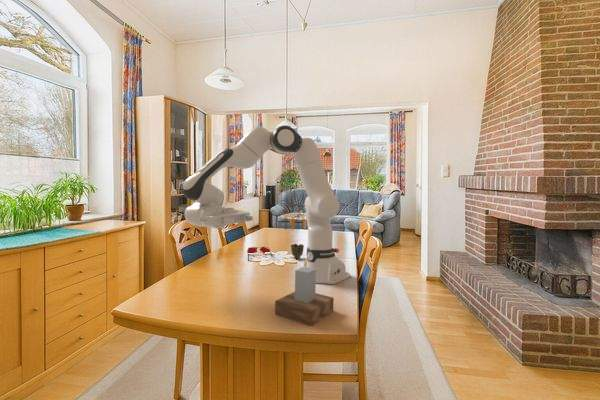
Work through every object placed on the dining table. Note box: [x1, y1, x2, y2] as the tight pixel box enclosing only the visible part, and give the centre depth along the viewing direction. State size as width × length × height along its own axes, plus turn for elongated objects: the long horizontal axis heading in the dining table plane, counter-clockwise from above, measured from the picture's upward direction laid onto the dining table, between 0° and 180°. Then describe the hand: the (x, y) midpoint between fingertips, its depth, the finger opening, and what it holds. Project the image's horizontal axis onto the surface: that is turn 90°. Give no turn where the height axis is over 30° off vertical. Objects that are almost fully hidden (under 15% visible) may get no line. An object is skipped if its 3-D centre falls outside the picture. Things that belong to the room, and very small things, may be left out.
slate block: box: [294, 266, 317, 303], centre depth 103 cm, size 5×5×10 cm
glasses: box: [246, 246, 274, 261], centre depth 179 cm, size 14×16×5 cm
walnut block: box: [274, 291, 334, 327], centre depth 103 cm, size 14×14×5 cm
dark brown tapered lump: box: [290, 243, 305, 259], centre depth 177 cm, size 8×7×8 cm
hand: (243, 219), depth 117 cm, fingers open, 8 cm apart
